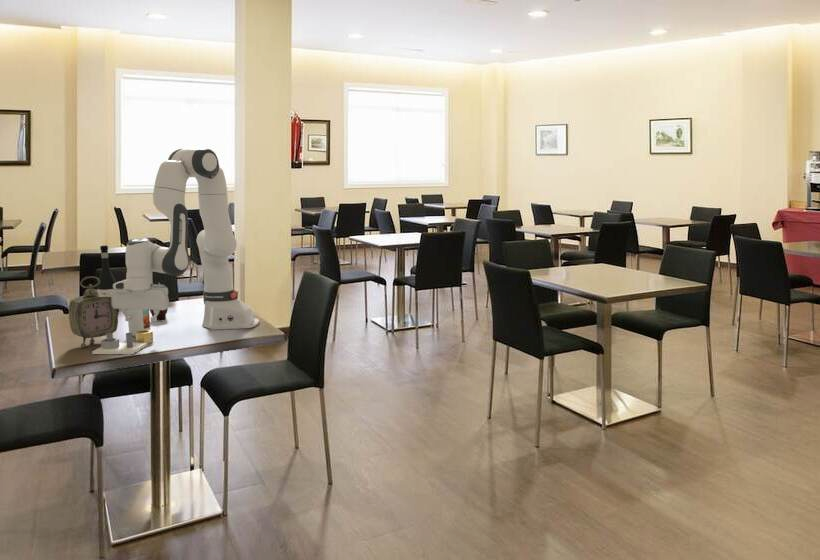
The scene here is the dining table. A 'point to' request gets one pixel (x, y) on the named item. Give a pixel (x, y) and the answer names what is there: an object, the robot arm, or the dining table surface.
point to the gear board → (118, 345)
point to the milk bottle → (138, 320)
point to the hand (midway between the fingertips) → (141, 321)
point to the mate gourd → (160, 313)
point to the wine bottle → (105, 275)
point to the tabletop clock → (92, 314)
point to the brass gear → (144, 336)
